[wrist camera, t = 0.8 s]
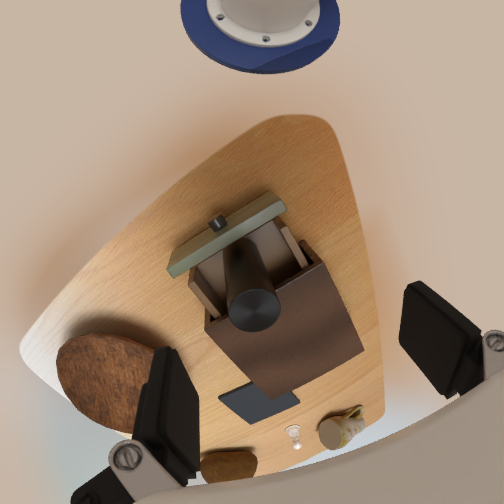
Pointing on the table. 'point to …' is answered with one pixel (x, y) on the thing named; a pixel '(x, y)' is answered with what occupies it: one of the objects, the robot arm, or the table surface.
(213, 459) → the potato
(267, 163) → the table surface
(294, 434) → the chess pawn
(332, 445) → the mug
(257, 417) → the mat
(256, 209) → the drawer
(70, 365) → the bowl
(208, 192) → the table surface
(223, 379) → the table surface
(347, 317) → the cabinet
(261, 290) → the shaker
